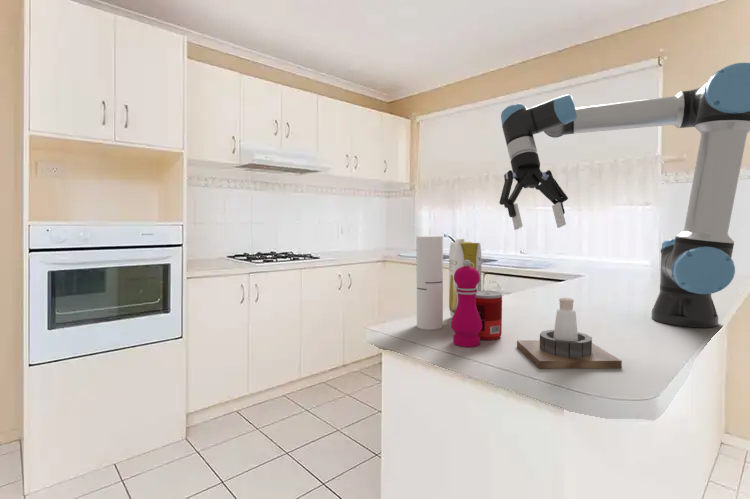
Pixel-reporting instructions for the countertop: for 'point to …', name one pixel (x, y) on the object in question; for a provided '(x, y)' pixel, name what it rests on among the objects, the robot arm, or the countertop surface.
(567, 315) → the pepper shaker
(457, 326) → the pepper mill
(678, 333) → the countertop surface
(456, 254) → the juice carton
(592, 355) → the collar plate
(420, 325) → the cylindrical container
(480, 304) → the canned food
